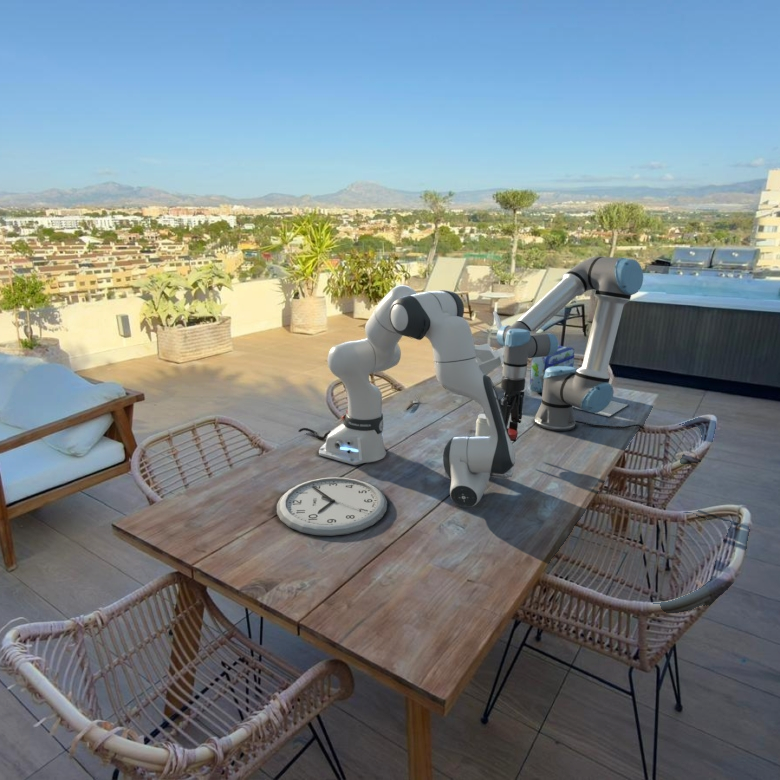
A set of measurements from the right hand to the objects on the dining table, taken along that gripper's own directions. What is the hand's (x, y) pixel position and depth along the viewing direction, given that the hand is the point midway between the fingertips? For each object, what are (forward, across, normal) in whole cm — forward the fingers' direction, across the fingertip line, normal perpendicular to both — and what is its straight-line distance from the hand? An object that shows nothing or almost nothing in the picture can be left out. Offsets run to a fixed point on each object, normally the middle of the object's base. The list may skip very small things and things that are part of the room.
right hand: (507, 443), depth 176 cm
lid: (-4, 0, 0) cm, 4 cm away
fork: (+4, -18, -54) cm, 57 cm away
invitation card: (+3, -73, +7) cm, 73 cm away
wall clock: (+5, +63, -19) cm, 66 cm away
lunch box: (+3, -80, -20) cm, 83 cm away
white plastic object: (+4, -54, -43) cm, 69 cm away
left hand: (-2, +18, +1) cm, 18 cm away
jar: (+4, +18, +1) cm, 19 cm away
